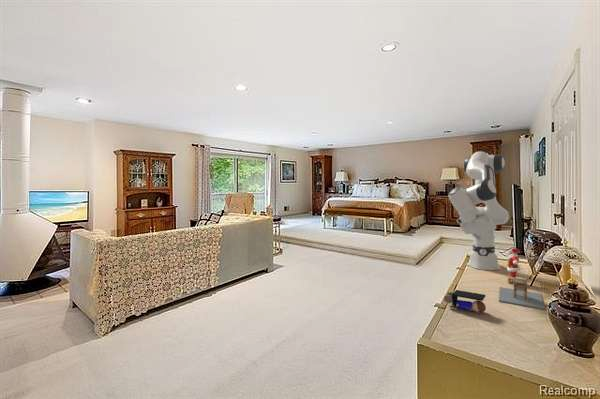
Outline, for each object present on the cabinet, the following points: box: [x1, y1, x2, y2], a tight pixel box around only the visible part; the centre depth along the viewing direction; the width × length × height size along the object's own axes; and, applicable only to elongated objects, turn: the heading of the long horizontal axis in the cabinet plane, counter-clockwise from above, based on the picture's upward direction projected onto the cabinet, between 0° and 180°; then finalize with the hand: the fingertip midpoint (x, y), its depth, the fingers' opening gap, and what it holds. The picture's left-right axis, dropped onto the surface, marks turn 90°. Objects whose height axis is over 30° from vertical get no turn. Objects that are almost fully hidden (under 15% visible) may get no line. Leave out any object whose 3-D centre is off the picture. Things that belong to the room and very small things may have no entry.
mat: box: [498, 286, 546, 311], centre depth 132 cm, size 20×16×1 cm
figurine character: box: [443, 289, 487, 314], centre depth 122 cm, size 7×8×15 cm
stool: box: [513, 276, 529, 300], centre depth 132 cm, size 5×5×8 cm
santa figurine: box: [506, 247, 521, 285], centre depth 152 cm, size 25×6×19 cm, turn 144°
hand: (486, 239), depth 145 cm, fingers open, 8 cm apart
